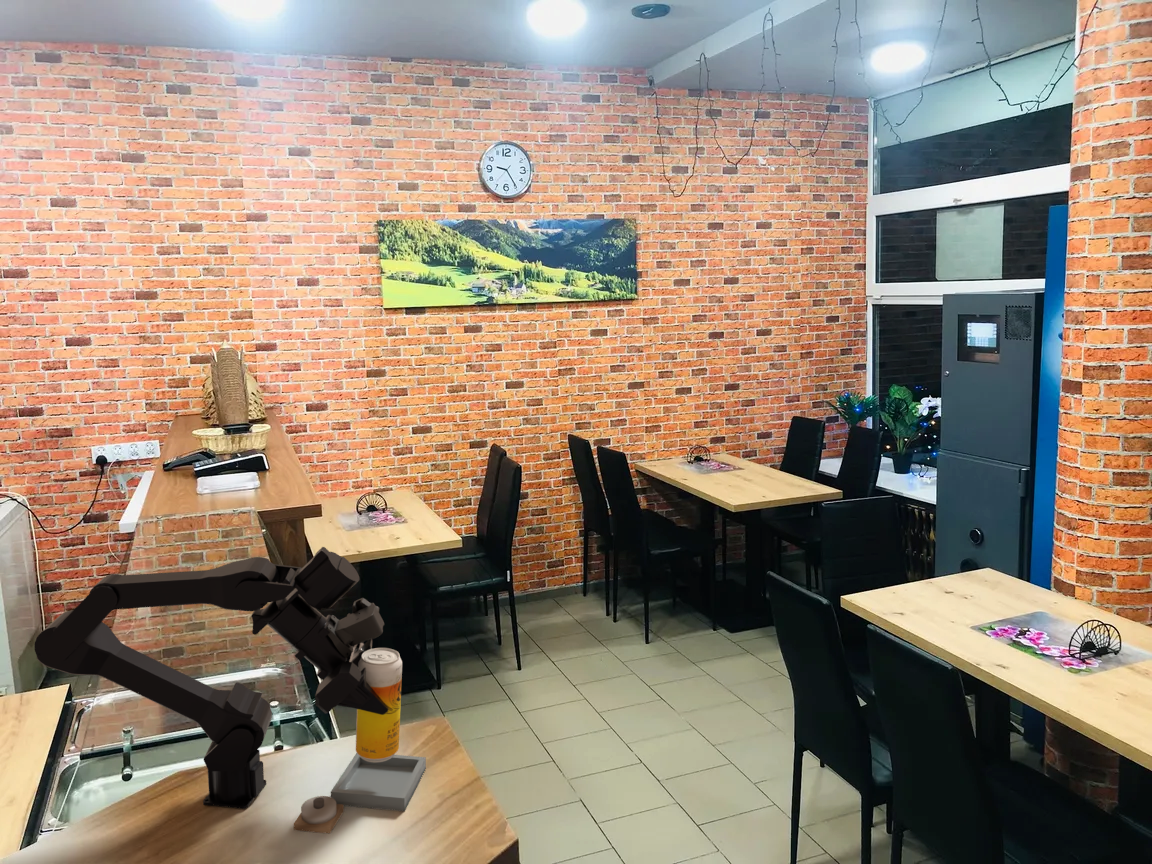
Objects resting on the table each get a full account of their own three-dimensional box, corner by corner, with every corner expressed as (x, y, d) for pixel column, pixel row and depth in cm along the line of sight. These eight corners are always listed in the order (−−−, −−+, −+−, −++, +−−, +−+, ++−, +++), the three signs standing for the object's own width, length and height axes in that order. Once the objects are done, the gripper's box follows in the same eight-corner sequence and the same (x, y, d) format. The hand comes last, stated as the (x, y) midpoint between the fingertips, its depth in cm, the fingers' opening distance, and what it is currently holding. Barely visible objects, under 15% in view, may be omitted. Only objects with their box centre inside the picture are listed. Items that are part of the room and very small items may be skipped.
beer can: (396, 764, 125) (400, 665, 122) (352, 764, 124) (355, 664, 122) (400, 742, 131) (404, 647, 128) (358, 741, 130) (362, 645, 128)
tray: (331, 804, 124) (330, 791, 124) (357, 763, 134) (357, 751, 134) (404, 811, 123) (404, 798, 122) (425, 769, 133) (425, 757, 133)
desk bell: (293, 830, 118) (293, 809, 118) (309, 808, 123) (308, 788, 122) (329, 833, 118) (329, 813, 117) (343, 811, 122) (343, 791, 122)
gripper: (340, 616, 114) (426, 694, 117) (355, 568, 132) (430, 636, 135) (277, 675, 114) (365, 750, 117) (302, 619, 132) (377, 686, 135)
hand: (387, 701), depth 126 cm, fingers closed on beer can, 6 cm apart
